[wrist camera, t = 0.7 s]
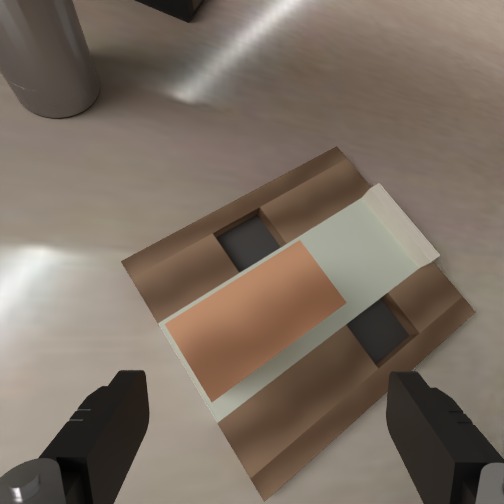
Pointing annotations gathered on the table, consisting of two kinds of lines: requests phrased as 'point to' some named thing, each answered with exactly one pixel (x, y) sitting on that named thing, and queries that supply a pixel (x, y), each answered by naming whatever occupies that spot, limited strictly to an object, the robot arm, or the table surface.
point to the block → (254, 318)
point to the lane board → (326, 332)
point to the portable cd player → (175, 7)
